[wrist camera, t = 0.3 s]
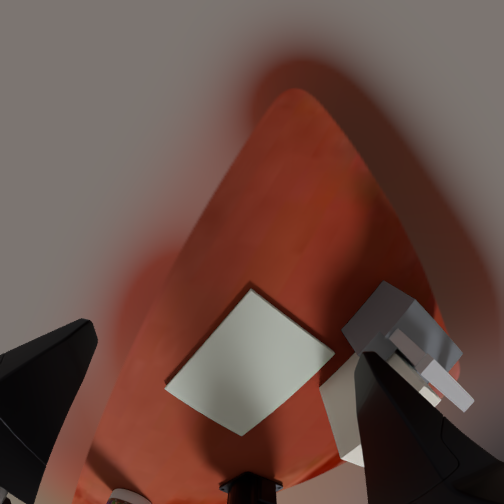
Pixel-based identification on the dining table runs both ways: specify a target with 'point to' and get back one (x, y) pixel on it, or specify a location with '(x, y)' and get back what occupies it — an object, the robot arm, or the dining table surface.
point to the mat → (249, 365)
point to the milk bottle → (126, 497)
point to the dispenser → (407, 339)
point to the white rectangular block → (344, 403)
